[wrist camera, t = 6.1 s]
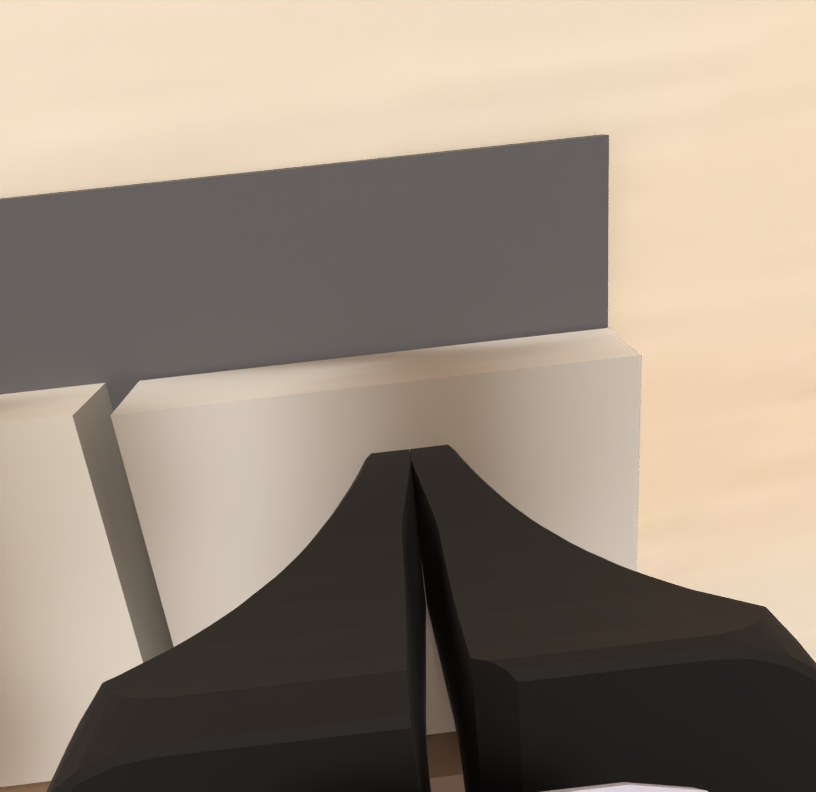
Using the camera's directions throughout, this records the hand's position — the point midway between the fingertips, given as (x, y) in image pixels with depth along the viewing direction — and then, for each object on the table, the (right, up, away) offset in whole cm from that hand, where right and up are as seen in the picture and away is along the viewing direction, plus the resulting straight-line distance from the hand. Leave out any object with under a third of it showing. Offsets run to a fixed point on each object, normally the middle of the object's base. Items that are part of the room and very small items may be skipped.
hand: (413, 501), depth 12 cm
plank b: (0, -1, +2) cm, 2 cm away
